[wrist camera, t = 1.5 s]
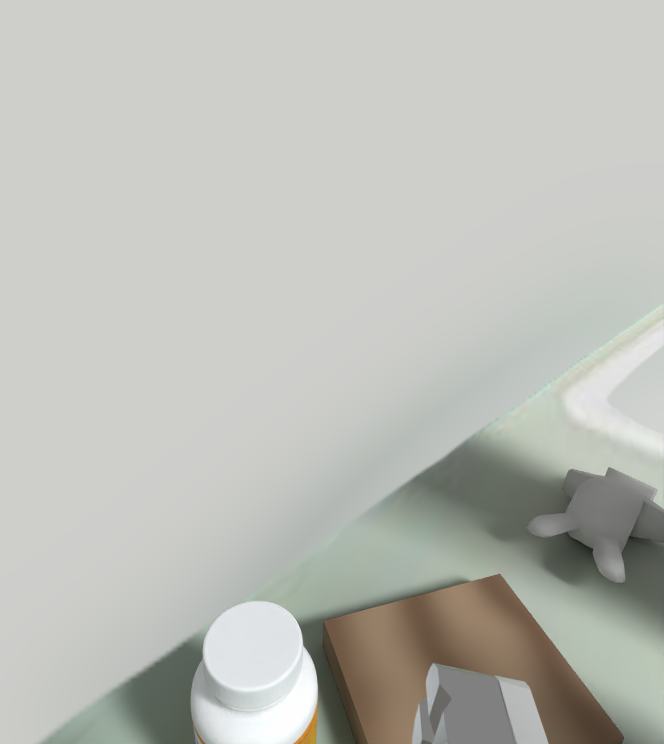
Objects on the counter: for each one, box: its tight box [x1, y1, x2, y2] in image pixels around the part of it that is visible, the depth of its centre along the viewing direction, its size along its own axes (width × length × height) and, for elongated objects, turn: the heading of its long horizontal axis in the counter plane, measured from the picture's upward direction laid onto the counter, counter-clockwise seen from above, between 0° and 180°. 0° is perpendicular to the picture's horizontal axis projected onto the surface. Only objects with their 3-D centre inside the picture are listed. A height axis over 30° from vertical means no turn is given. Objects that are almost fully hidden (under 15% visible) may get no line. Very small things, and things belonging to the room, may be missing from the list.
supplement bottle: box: [191, 601, 318, 744], centre depth 27 cm, size 6×6×11 cm
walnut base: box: [323, 574, 624, 744], centre depth 33 cm, size 14×12×2 cm
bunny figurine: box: [527, 467, 664, 583], centre depth 46 cm, size 10×5×15 cm
